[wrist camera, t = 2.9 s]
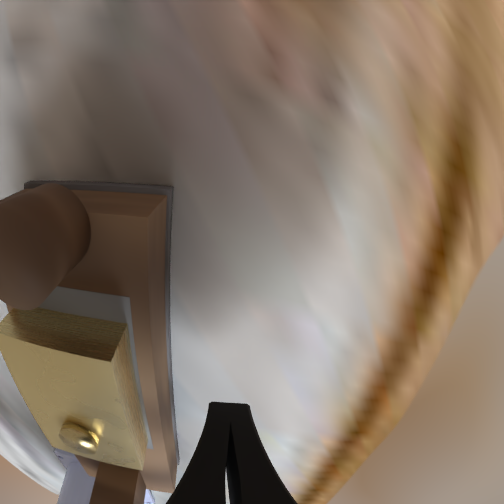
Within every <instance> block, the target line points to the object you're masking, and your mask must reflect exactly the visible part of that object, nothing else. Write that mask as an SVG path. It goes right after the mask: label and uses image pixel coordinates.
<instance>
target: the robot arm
mask: <svg viewBox="0 0 504 504" xmlns="http://www.w3.org/2000/svg"><path fill="white" fill-rule="evenodd" d="M54 453H55V455H56V456H57V457H58V459H59V460H60V461H61V463H62V464H63V465H64V467H65V468H66V469H67V472H66V475H65V478H64V481H63V485H62V488H61V491H60V495H59V498H58V502H57V504H89V502H90V498H91V494H92V490H93V486H94V482H95V478H96V477H92V476H89V475H88V474H87V473H86V471H85V470H84V468H83V467H82V465H81V464H80V462H79V461H78V459H77V458H76V456H75V455H74V454H73V453H70V452H67V451H64V450H61V449H58V448H55V450H54ZM226 471H227V481H228V490H229V499H230V504H297V503H296V501H295V500H294V499H293V497H292V496H291V494H290V493H289V491H288V490H287V489H286V487H285V485H284V484H283V482H282V481H281V479H280V477H279V476H278V474H277V472H276V470H275V469H274V467H273V465H272V463H271V461H270V459H269V457H268V455H267V453H266V451H265V449H264V447H263V444H262V442H261V440H260V437H259V435H258V432H257V430H256V427H255V424H254V421H253V418H252V414H251V410H250V406H249V405H248V404H240V403H223V402H211V403H209V408H208V414H207V418H206V422H205V426H204V429H203V432H202V435H201V437H200V440H199V442H198V445H197V447H196V450H195V452H194V454H193V457H192V459H191V461H190V463H189V465H188V467H187V469H186V471H185V473H184V475H183V477H182V478H181V480H180V482H179V484H178V485H177V487H176V489H175V490H174V492H173V494H172V495H171V497H170V498H169V500H168V501H167V503H166V504H226V497H225V472H226ZM144 504H155V502H154V499H153V497H152V495H151V492H150V490H149V489H146V492H145V499H144Z"/></svg>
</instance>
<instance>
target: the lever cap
mask: <svg viewBox="0 0 504 504" xmlns="http://www.w3.org/2000/svg"><path fill="white" fill-rule="evenodd" d="M0 351H1V353H2V355H3V358H4V360H5V362H6V364H7V367H8V369H9V371H10V373H11V375H12V377H13V379H14V381H15V383H16V385H17V387H18V389H19V391H20V393H21V395H22V397H23V399H24V401H25V403H26V404H27V406H28V408H29V410H30V411H31V413H32V415H33V417H34V418H35V420H36V422H37V423H38V425H39V427H40V428H41V430H42V431H43V433H44V435H45V436H46V438H47V439H48V441H49V442H50V444H51V445H52V447H55V448H58V449H61V450H64V451H67V452H70V453H73V454H76V455H80V456H83V457H86V458H90V459H94V460H97V461H101V462H105V463H109V464H113V465H118V466H122V467H127V468H132V469H137V470H142V471H143V465H144V459H145V454H146V449H147V443H148V436H147V432H146V428H145V423H144V419H143V414H142V409H141V405H140V400H139V394H138V389H137V384H136V378H135V372H134V366H133V360H132V353H131V346H130V338H129V330H128V324H127V323H120V322H114V321H108V320H102V319H96V318H90V317H85V316H79V315H74V314H69V313H64V312H59V311H54V310H49V309H44V308H40V307H37V308H35V309H32V310H20V309H16V308H13V309H12V310H11V311H10V312H9V313H8V314H7V315H6V317H5V318H4V319H3V320H2V321H1V322H0Z"/></svg>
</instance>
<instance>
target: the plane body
mask: <svg viewBox="0 0 504 504" xmlns="http://www.w3.org/2000/svg"><path fill="white" fill-rule="evenodd" d="M172 198H173V187H170V186H157V185H141V184H124V183H103V182H75V181H29V182H27V183H24V190H22V191H20V192H17V193H15V194H13V195H11V196H9V197H6V198H4V199H2V200H0V299H1V300H2V301H3V302H5V303H6V305H7V308H8V312H10V311H11V310H12V309H13V308H16V309H20V310H32V309H35V308H37V307H40V308H44V309H49V310H54V311H59V312H64V313H69V314H74V315H79V316H85V317H90V318H96V319H102V320H108V321H114V322H120V323H127V324H128V330H129V338H130V346H131V353H132V360H133V366H134V372H135V378H136V384H137V389H138V394H139V400H140V405H141V409H142V414H143V419H144V423H145V428H146V432H147V436H148V443H147V449H146V454H145V459H144V465H143V471H142V470H137V469H132V468H127V467H122V466H118V465H113V464H109V463H105V462H101V461H97V460H94V459H90V458H86V457H83V456H80V455H76V454H74V455H75V456H76V458H77V459H78V461H79V462H80V464H81V465H82V467H83V468H84V470H85V471H86V473H87V474H88V475H89V476H92V477H96V478H95V482H94V486H93V490H92V494H91V498H90V502H89V504H144V499H145V492H146V489H149V490H155V491H161V492H168V493H173V492H174V490H175V482H176V472H177V465H179V460H180V459H179V451H178V441H177V432H176V421H175V409H174V396H173V380H172V361H171V334H170V244H171V217H172Z"/></svg>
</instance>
